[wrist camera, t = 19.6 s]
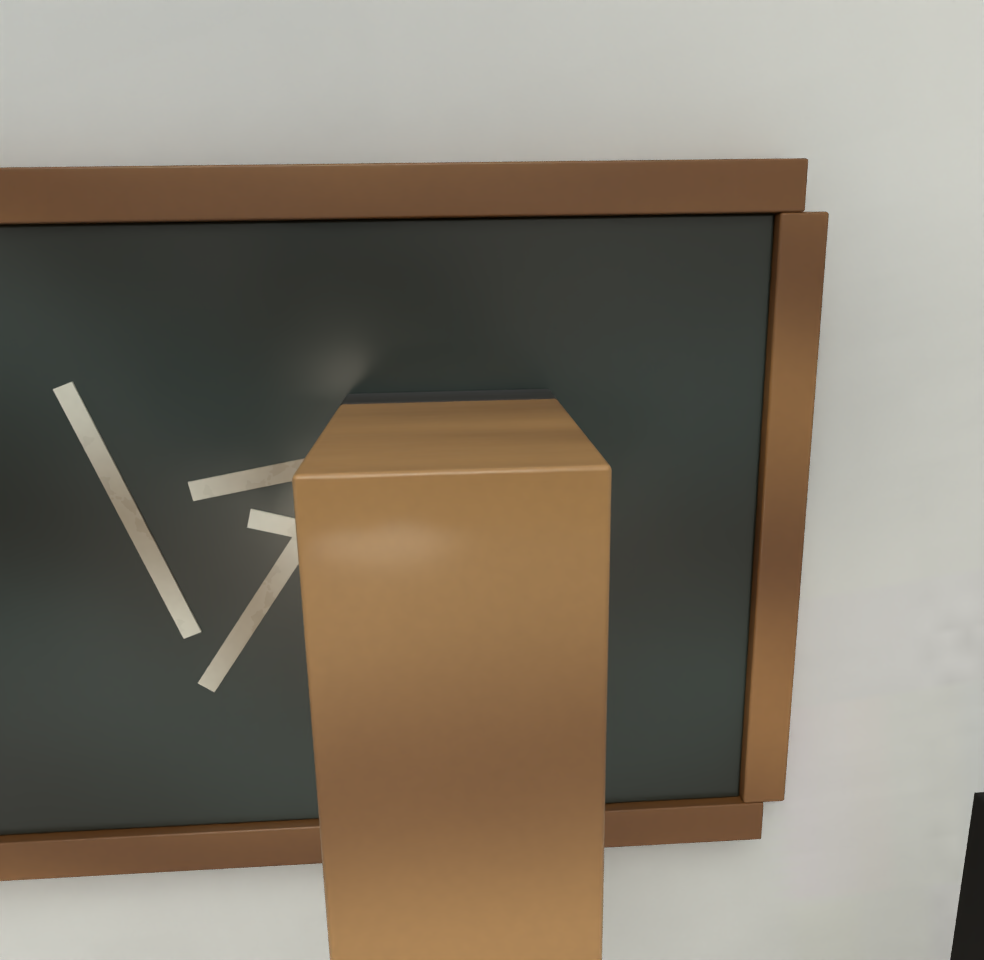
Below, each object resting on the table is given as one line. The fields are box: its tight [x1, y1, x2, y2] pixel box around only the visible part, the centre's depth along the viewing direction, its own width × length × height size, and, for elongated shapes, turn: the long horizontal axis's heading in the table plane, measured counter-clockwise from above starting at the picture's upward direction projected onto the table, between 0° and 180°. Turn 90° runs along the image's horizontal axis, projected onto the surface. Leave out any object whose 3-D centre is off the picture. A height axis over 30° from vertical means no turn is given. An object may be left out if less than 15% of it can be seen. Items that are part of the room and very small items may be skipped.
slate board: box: [0, 158, 829, 881], centre depth 22 cm, size 18×28×2 cm, turn 91°
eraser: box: [292, 389, 612, 960], centre depth 18 cm, size 10×5×8 cm, turn 1°
